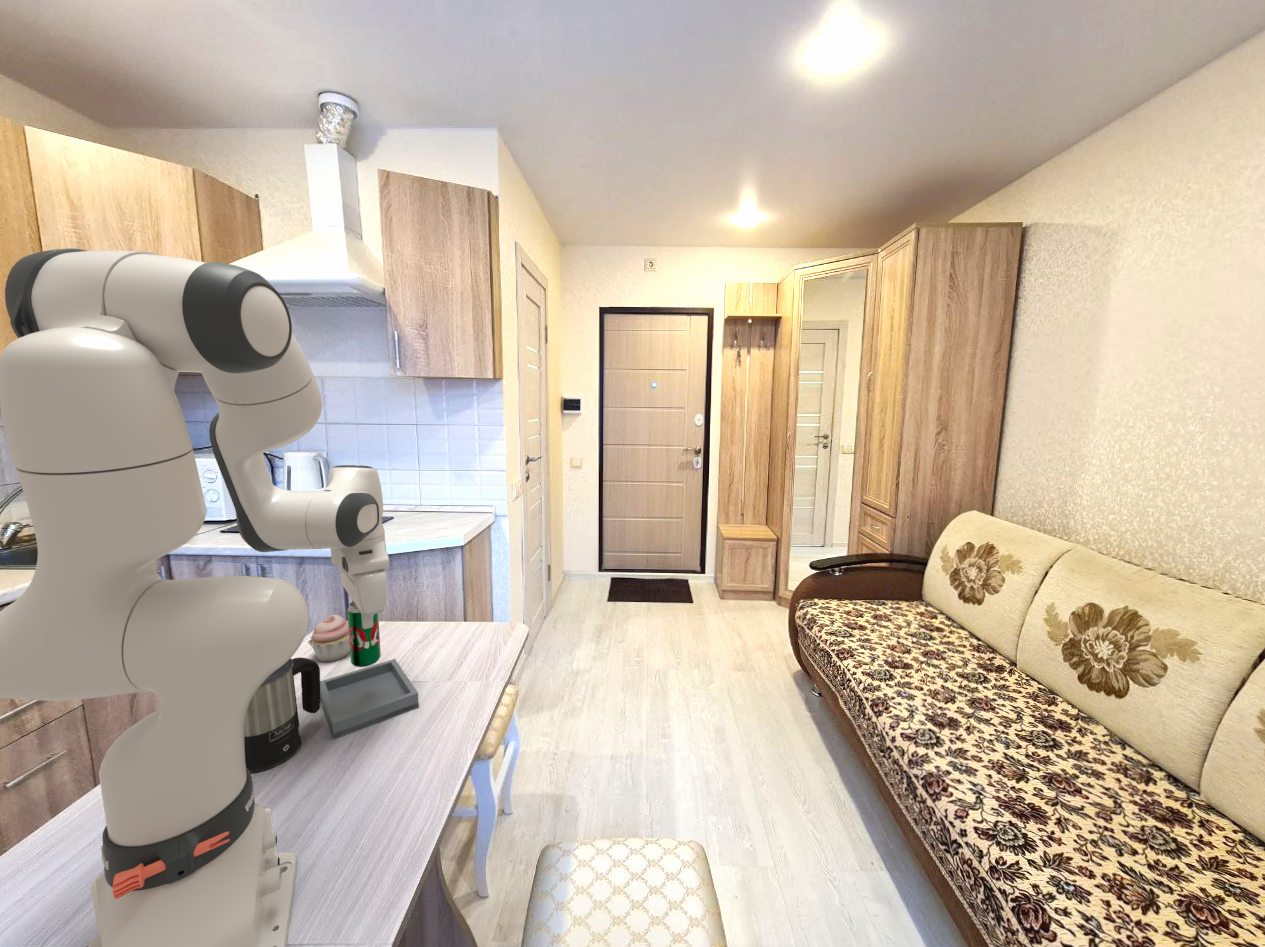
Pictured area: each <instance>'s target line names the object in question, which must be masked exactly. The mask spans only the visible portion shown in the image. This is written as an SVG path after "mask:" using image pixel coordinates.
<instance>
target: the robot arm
mask: <svg viewBox="0 0 1265 947" xmlns="http://www.w3.org/2000/svg"><path fill="white" fill-rule="evenodd" d="M4 300H5V307H6V310H7V313H8V317H9V320H10V321H9V322H10V326H11V329H12V331H13V332H14V333H15V336H16V337H17V338H16V339H15V340H13V341H11V342H10V343H9V344H8V345H6V346H5V348H3V350H2V352H1V354H0V411H1V417H2V423H3V424H2V425H3V429H4V434H5V437H6V441H7V445H8V446H7V447H8V450H9V454H10V456H11V459H12V461H13V466H14V468H15V471H16V473H17V477H18V479H19V482H20V485H21V488H22V492H23V494H24V495H23V496H24V498H25V502H26V504H27V508H28V511H29V515H30V519H31V522H32V526H33V531H34V536H35V540H36V546H37V559H36V565H35V569H34V570H35V571H34V573H33V576H32V579H31V581H30V583H29V585H28V587H27V588H26V589H25V591H24V592H23V593H22V594H21V595H20V596H19V597H18V598H17V599H15V601H13V602H11V603H10V604H9V605H7V606H5V607H4V608H3V609H2V610H0V699H10V700H11V699H12V700H24V701H25V700H26V701H40V702H41V701H46V702H70V701H71V702H72V701H79V700H80V701H81V700H86V699H87V700H88V699H94V698H95V699H96V698H103V697H111V696H121V695H128V694H136V693H144V692H148V693H155V695H157V696H158V699H159V702H160V703H159V704H160V706H159V709H158V710H156V711H155V712H154V711H153V712H152V713H150V714H149V715H146V716H145V717H143V718H142V719H141V720H139V721H137V722H136V723H134V724H133V725H132V726H130V727H128V729H126V730H125V731H124V732H122V733H121V734H120V735H119V736H118V737H116V739H115V740H114V741H113V743H112V744H111V745H110V747H109V748H108V749H107V751H106V753H105V755H104V757H103V759H102V762H101V764H100V767H99V771H98V778H99V783H100V784H99V785H100V790H101V797H102V805H103V809H104V810H103V811H104V818H105V826H104V829H103V831H102V840H101V841H102V845H101V849H100V850H101V861H102V865H103V871H102V872H101V873H100V874H99V875H98V876H97V877H96V879H95V880H94V881H93V882H92V883H91V884H90V892H91V898H92V904H93V909H94V910H93V911H94V916H95V923H96V928H97V934H98V935H97V937H95V938H94V939H92V940H90V941H89V942H87V946H86V947H287V944H288V943H287V942H288V936H289V929H290V919H291V914H292V906H293V898H294V891H295V890H294V889H295V883H296V877H297V876H296V875H297V868H298V859H297V856H296V855H297V854H296V853H295V852H292V851H279V852H277V848H276V847H277V846H278V834H277V833H276V832H274V825H273V818H272V817H273V816H272V815H273V814H272V809H271V808H268V807H267V806H263V805H260V804H259V803H256V802H255V790H256V789H255V783H254V780H253V777H252V773H250V771H249V770H248V768H246V763H245V745H244V724H245V716H246V712H247V708H248V706H249V703H250V701H251V699H252V697H253V695H254V694H255V692H256V691H257V689H258V688H259V687H260V685H261V684H262V683H263V682H264V681H265V680H266V679H267V678H268V677H269V676H270V675H271V674H272V673H273V672H275V671H276V670H277V669H279V668H280V667H281V666H283V665H284V664H285V663H286V662H287V661H288V660H289V659H290V658H291V659H292V657H293V656H294V655H295V654H296V653H297V651H298V650H299V648H300V646H302V645H301V644H303V642H304V639H305V637H306V634H307V631H308V626H309V618H310V617H309V609H308V604H307V602H306V600H305V597H304V595H303V594H302V593H301V592H302V591H301V590H300V589H298V587H297V586H296V585H295V584H294V583H292V582H291V581H289V580H288V579H281V578H273V577H265V576H254V575H253V576H252V575H235V574H234V575H225V576H221V575H220V576H208V577H195V578H194V577H193V578H179V579H167V578H166V579H164V578H162V577H161V576H160V575H159V574H158V573H157V569H156V568H157V567H156V560H158V559H160V558H162V557H164V556H166V555H168V554H170V553H172V552H173V551H174V552H175V551H176V550H177V549H179V548H181V547H182V546H184V545H186V544H187V543H188V542H190V541H191V540H192V539H194V537H195V536H196V535H197V534H199V532H200V530H201V528H202V527H203V526H204V525H203V524H204V522H205V519H206V515H207V507H206V501H205V496H204V492H203V488H202V484H201V480H200V475H199V470H198V465H197V461H196V457H195V453H194V448H193V444H192V439H191V437H190V432H189V428H188V425H187V423H186V418H185V416H184V413H183V411H182V408H181V405H180V402H179V400H178V396H177V395H176V392H175V386H176V382H177V380H178V377H179V374H180V373H179V372H187V373H188V372H191V373H192V372H193V373H194V372H196V373H197V372H200V373H201V376H202V377H203V379H204V382H205V384H206V385H207V387H208V389H209V391H210V393H211V394H212V396H213V398H214V400H215V402H216V405H217V408H218V413H217V414H215V415H214V417H213V418H212V419H211V422H210V425H209V430H208V432H209V433H208V434H209V441H210V446H211V449H212V452H213V456H214V458H215V461H216V464H217V467H218V469H219V471H220V474H221V476H222V479H223V482H224V484H225V487H226V489H227V492H228V495H229V497H230V499H231V502H232V505H233V508H234V511H235V516H236V525H237V529H238V532H239V535H240V537H241V539H242V540H243V541H244V542H245V543H246V544H247V545H248V546H249V547H250V548H252V549H253V550H255V551H257V552H259V553H269V552H272V553H273V552H280V551H282V552H283V551H289V550H325V549H326V550H327V549H329V550H330V557H331V558H330V559H331V560H330V561H331V564H332V565H334V566H336V567H339V570H340V581H341V585H342V586H343V588H344V589H345V592H346V593H347V594H348V595H349V597H350V600H351V602H352V601H353V602H354V603H355V605H356V606H357V608H358V609H359V611H360V612H361V626H362V628H363V629H367V628H371V627H373V617H374V614H378V615H379V614H381V613H384V612H385V609H386V606H387V595H388V594H387V592H388V590H387V589H388V584H387V583H388V581H387V580H388V576H387V570H386V569H389V568H390V558H389V557H390V556H389V554H388V553H387V547H386V544H387V543H386V532H385V528H384V525H383V521H382V520H383V518H382V517H383V514H384V500H383V492H382V485H381V479H380V476H379V473H378V471H377V469H376V468H374V467H372V466H370V465H355V464H347V465H346V464H340V465H334V466H332V467H330V468H329V471H328V478H327V487H325V488H324V489H323V490H290V489H289V490H288V489H284V488H281V487H278V486H276V485H274V483H273V482H272V478H271V475H270V471H269V468H268V465H267V462H266V459H265V456H264V453H266V452H267V453H268V452H269V451H273V450H276V449H282V448H283V447H287V446H288V445H291V444H293V443H295V442H296V441H298V440H301V438H302V437H304V436H306V435H307V434H308V433H309V432H310V431H311V430H312V429H313V428H314V427H315V426H316V424H317V423H318V422H319V419H320V418H321V415H322V410H323V398H322V395H321V391H320V388H319V385H318V383H317V380H316V378H315V376H314V372H313V371H312V368H311V366H310V363H309V361H308V360H307V356H306V355H305V353H304V351H303V349H302V347H301V345H300V344H299V342H298V340H297V338H296V336H295V335H294V333H293V326H292V324H293V323H292V318H291V314H290V311H289V308H288V306H287V303H286V301H285V300H284V298H283V297H282V296H281V294H280V293H279V292H278V290H277V289H276V288H275V287H274V286H273V285H272V284H271V283H270V282H269V281H268V280H267V279H266V278H264V276H262V275H260V274H259V273H257V272H255V271H252V270H250V269H247V268H245V267H242V266H238V265H234V264H230V263H225V262H222V261H209V262H206V261H200V260H194V259H189V258H183V257H178V256H177V257H175V256H169V255H159V254H158V253H154V252H149V251H143V250H142V251H140V250H139V251H138V250H134V251H133V250H114V249H113V250H110V249H109V250H86V249H81V248H74V247H71V248H69V247H68V248H56V249H49V250H48V249H47V250H44V251H42V250H41V251H38V252H35V253H31V254H28V255H25V256H23V257H22V258H20V259H18V261H16V262H15V264H13V266H11V269H10V271H9V273H8V275H7V278H6V282H5V290H4Z"/></svg>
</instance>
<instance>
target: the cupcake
mask: <svg viewBox="0 0 1265 947" xmlns="http://www.w3.org/2000/svg"><path fill="white" fill-rule="evenodd" d="M307 644H309V645H310V647H311V648H312V649H313V651H314V653H315V656H316V658H317V660H318V661H320V662H322V663H329V662H334V661H339V660H341V659H343V658H345V657H347V656H348V655H350V643H349V629H348V620H345V618H343V617H342V616H341V615H338V614H329V615H328V616H326V617H325V618H324V620H323V621H320V622H318V623H317V624H316V625H315V627H314V630H313V632H312V634H311V636H310V637H309V639H308V641H307Z"/></svg>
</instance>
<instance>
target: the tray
mask: <svg viewBox="0 0 1265 947" xmlns="http://www.w3.org/2000/svg"><path fill="white" fill-rule="evenodd" d="M419 703H420V702H419V692H418V690H417V689H416V688H415V686H414V685H413V683H412V682H411V680H410V678H408V676H407V674H406V673H405V672H404V670H403V669H402V667H401V666H400V664H399V663H398V660H396V658H393V659H389V660H386V661H383V662H380V663H377V664H376V663H375V664H372V665H369V666H366V667H362V668H360V669H357V670H353V671H350V672H347V673H343V674H340V675H337V676H334V677H330V678H327V679H326V678H325V679H324V680H320V704H321V707H322V709H323V712H324V714H325V717H326V721H327V724H328V725H329V729H330V732H331V736H332V737H333V740H336V739H338V738H342V737H343V736H346V735H349V734H351V733H355V732H357V731H360V730H363V729H365V728H368V727H370V726H373V725H376V724H378V723H382V722H383V721H386V720H388V719H392V718H394V717H396V716H400V715H402V714H405V713H408V712H411V711H412V709H413V710H416V709H419V708H420V704H419ZM418 707H419V708H418ZM410 710H411V711H410Z"/></svg>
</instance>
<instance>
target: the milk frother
mask: <svg viewBox="0 0 1265 947" xmlns="http://www.w3.org/2000/svg"><path fill="white" fill-rule="evenodd" d="M320 668H321V667H320V665H319V663H318V662H316V661H315V660H313V659H310V658H307V657H294V658H292V657H291V658H290V659H289V660H288V661H287V662H286V663H285V664H284V665H283V666H281V667H280V668H279V669H277V670H276V671H275V672H273V673H272V674H271V675H270V676H269V677H268V678H267V679H266V680H265V681H264V682H263V683H262V684H261V685H260V687H259V688H258V689H257V691H256V692H255V694H254V695H253V697H252V699H251V701H250V703H249V706H248V708H247V712H246V716H245V724H244V745H245V763H246V768H248V770H249V771H250V773H251V774H255V773H260V772H262V771H266V770H270V769H272V768H274V767H277V766H279V765H280V764H282V763H284V762H286V761H287V760H288V759H290V758H291V757H293V755H295V754H296V753H297V751H299V749H300V747H301V746H302V740H303V739H302V736H301V735H300V729H299V728H300V720H299V713H298V704H297V694H296V687H295V686H296V685H295V678H294V676H296V675H298V674H300V685H301V686H300V687H301V702H302V704H301V705H302V706H301V707H302V710H303V711H305V712H307V713H309V714H316V713H317V712H318V711H319V710H320V708H321V700H320V681H321V669H320Z"/></svg>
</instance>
